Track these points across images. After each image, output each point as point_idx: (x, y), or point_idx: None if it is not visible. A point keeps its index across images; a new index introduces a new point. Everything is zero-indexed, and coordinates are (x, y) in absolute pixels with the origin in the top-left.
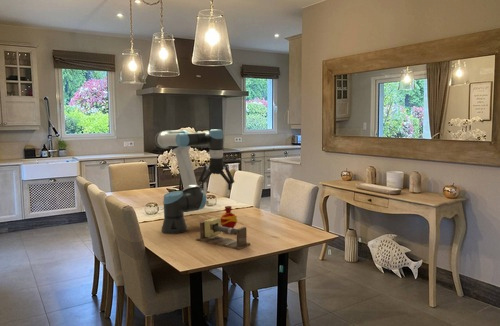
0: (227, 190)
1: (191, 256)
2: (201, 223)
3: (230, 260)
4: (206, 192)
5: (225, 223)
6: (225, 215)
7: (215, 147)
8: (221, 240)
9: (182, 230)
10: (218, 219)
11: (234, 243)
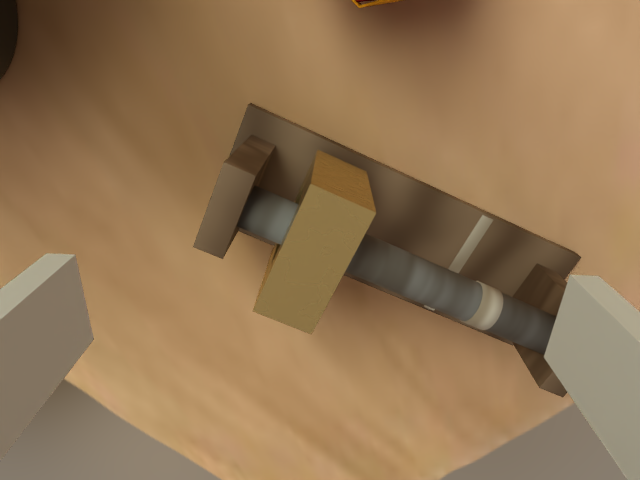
0: (626, 450)
1: (291, 435)
2: (214, 251)
3: (479, 455)
4: (62, 275)
5: (372, 4)
6: None
7: None
8: (384, 234)
9: (5, 48)
10: (360, 239)
11: (478, 277)
